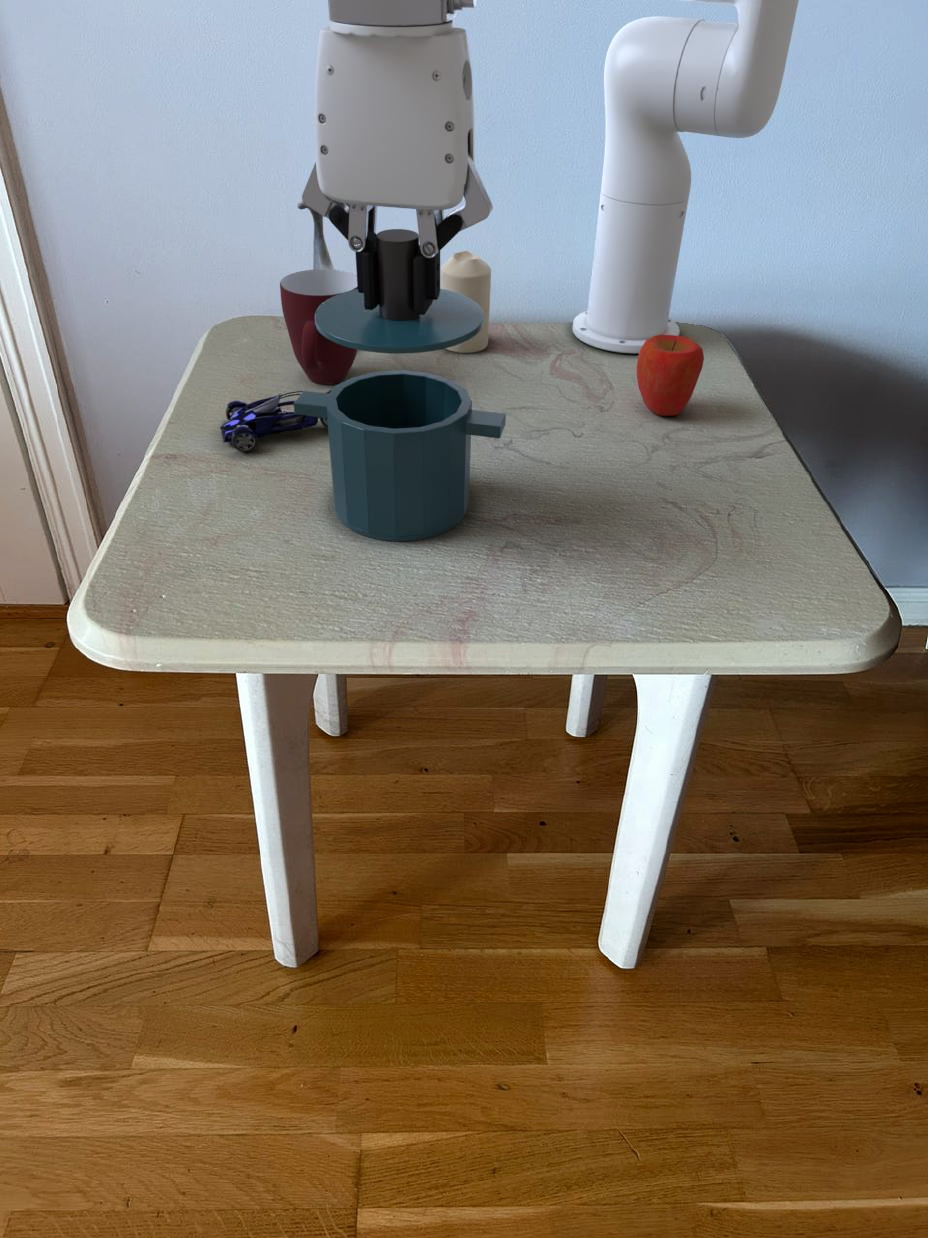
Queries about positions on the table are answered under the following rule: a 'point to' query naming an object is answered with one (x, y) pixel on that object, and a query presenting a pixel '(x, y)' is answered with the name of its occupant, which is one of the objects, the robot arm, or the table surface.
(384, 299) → the lid
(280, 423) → the toy car
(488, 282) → the candle
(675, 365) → the apple
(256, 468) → the table surface
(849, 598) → the table surface
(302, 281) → the mug
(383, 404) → the pot
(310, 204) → the robot arm
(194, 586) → the table surface
